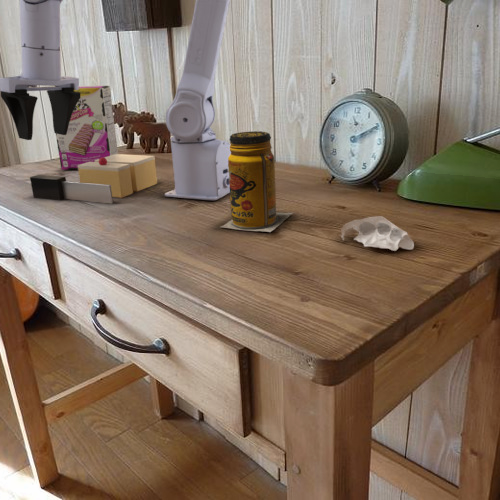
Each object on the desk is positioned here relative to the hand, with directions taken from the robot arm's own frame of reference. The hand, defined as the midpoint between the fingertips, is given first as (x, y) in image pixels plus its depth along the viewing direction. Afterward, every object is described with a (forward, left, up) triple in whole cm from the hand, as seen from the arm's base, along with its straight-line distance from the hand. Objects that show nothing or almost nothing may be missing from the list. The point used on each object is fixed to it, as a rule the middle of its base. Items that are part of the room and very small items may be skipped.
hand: (43, 136), depth 88 cm
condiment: (-39, +2, -10) cm, 41 cm away
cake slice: (-8, -4, -10) cm, 14 cm away
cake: (-8, -10, -10) cm, 16 cm away
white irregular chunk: (-56, +6, -10) cm, 58 cm away
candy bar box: (+10, -21, -10) cm, 25 cm away
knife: (-5, +1, -10) cm, 11 cm away
